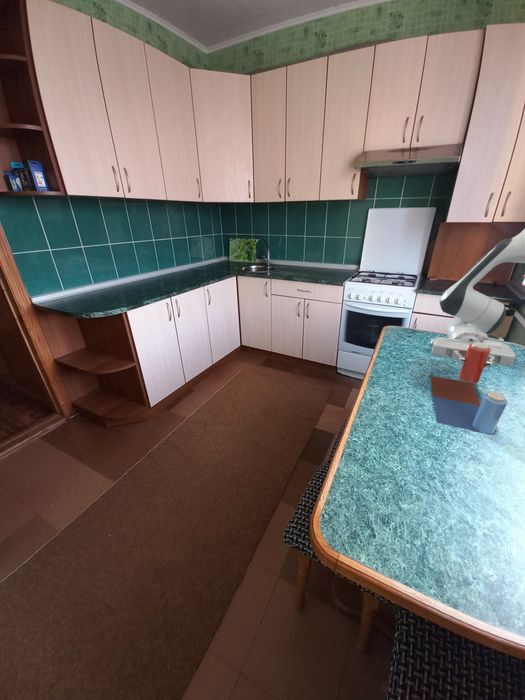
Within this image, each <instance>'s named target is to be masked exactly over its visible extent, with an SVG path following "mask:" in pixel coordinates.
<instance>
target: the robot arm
mask: <svg viewBox="0 0 525 700" xmlns="http://www.w3.org/2000/svg"><path fill="white" fill-rule="evenodd" d="M504 263H517V264H525V228H524V229H523V230H522V231H521V232H520V233H518V234H517V235H515V236H513V237H511V238H503V239H502V240H501V241H499V242H497V243H496V244H495V245H494V246H493V247H492V248H490V249H489V250H488V251H487V252H486V253H484V255H483V256H482V257H481V258H480V259H478V260H477V261H476V263H475V264H473V265H472V267H470V268H469V269H468V270H467V271H466V272H465V273H464V274H463V275H462V276H461V277H460V278H459V279H458V280H457V281H456V282H454V283H453V284H452V285H451V286H450V287H449V288H447V289H446V290H445V291H444V292H443V293H442V295H441V296H440V298H439V306H440V309H441V311H442V312H443V313H444V314H447V315H450V316H452V317H453V318H451V319H450V321H449V322H448V324H447V327H446V335H447V337H443V336H437V337H435V338H431V339H430V340H429V341H430V344H431V345H432V348H431V354H432V355H434V356H437V357H443V358H450V359H453V360H455V361H456V362H457V363H458V364H461V365H462V364H464V363H465V362H464V361H465V360H466V358H465V355H466V352H467V350H468V347H469V345H470V344H473V343H474V342H480V343H484V344H486V345H488V346H489V348H490V349H491V351H490V354H489V357H488V359H487V362H486V364H485V367H484V368H487V369H488V368H489V369H492V367H493V365H496V366H502V367H511V366H513V364H514V362H515V359H516V353H515V352H514V350H513V349H512V347H510V346H509V345H508V344H507V343H504V342H505V339H504V340H503V339H502V338H499V337H496V336H492V335H488V334H490V333H492V332H493V331H495V330H496V329H497V328H498V327H499V326H500V325H501V324H502V322H503V321H504V319H505V313H506V309H505V305H506V304H505V303H503V302H500V301H499V300H496V299H495V298H492V297H490V296H487V295H486V294H484V293H482V292H480V291H477V290H476V289H474V286H475V285H477V284H478V282H480V281H481V280H482V279H483V278H484V277H485V276H486V275H487V274H489V272H490V271H492V270H493V268H495V267H496V266H498V265H501V264H504ZM504 304H505V305H504Z"/></svg>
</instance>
